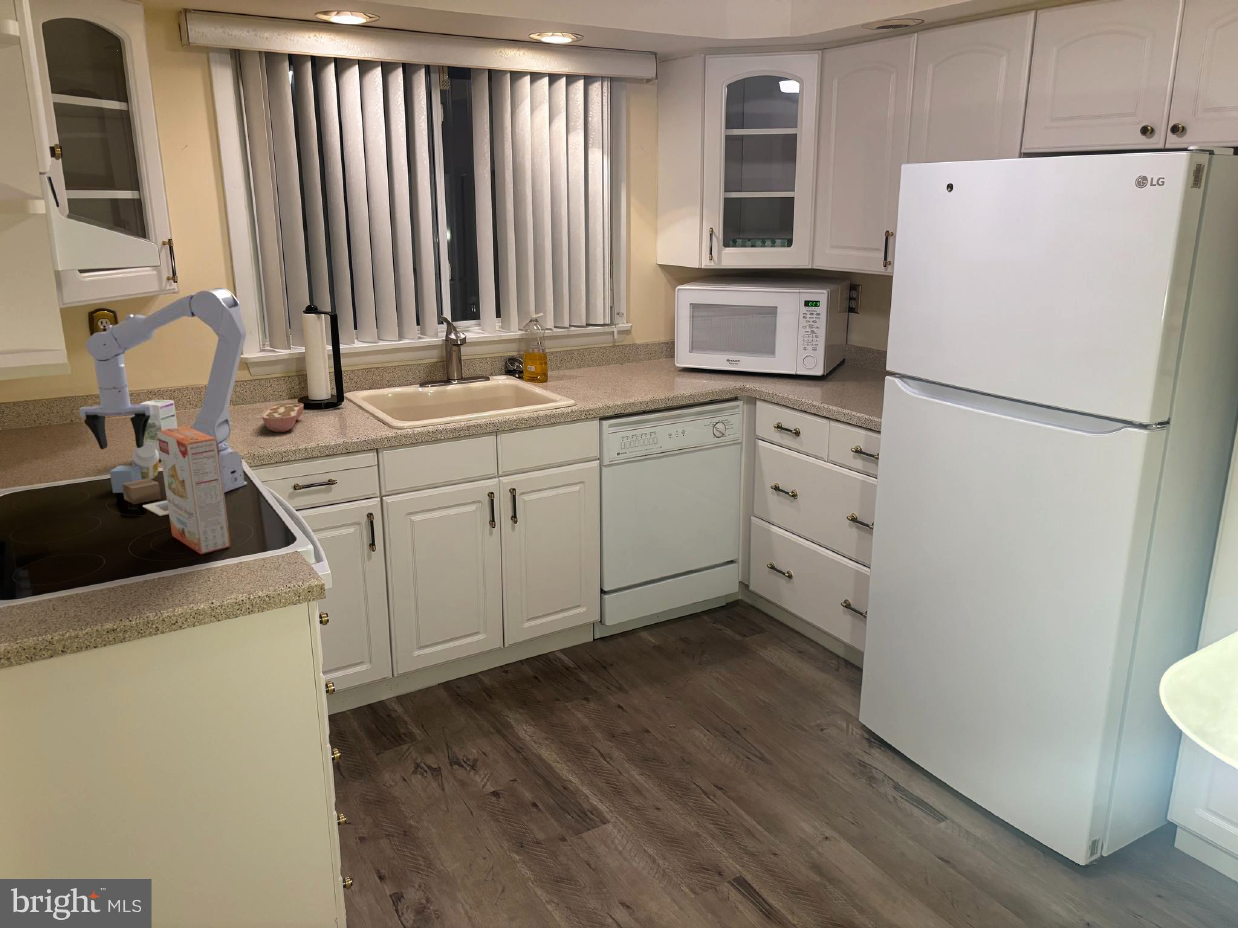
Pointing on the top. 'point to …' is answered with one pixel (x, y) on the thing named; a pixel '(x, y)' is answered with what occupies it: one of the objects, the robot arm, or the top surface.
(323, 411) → the top surface
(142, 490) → the walnut base
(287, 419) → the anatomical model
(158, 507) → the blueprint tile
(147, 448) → the supplement bottle
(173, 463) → the cracker box
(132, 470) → the light blue block
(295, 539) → the top surface
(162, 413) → the syrup box
